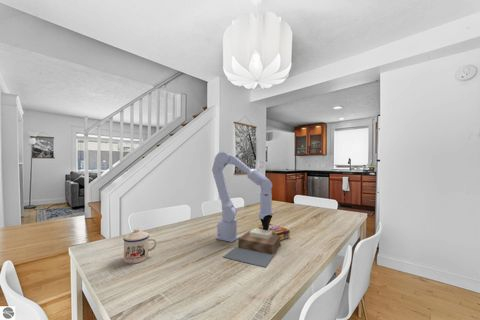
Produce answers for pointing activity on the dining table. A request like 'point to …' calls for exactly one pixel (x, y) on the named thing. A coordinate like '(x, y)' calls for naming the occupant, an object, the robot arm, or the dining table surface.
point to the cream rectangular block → (261, 233)
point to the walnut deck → (259, 243)
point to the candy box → (277, 231)
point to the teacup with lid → (137, 246)
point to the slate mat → (249, 256)
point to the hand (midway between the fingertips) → (265, 230)
